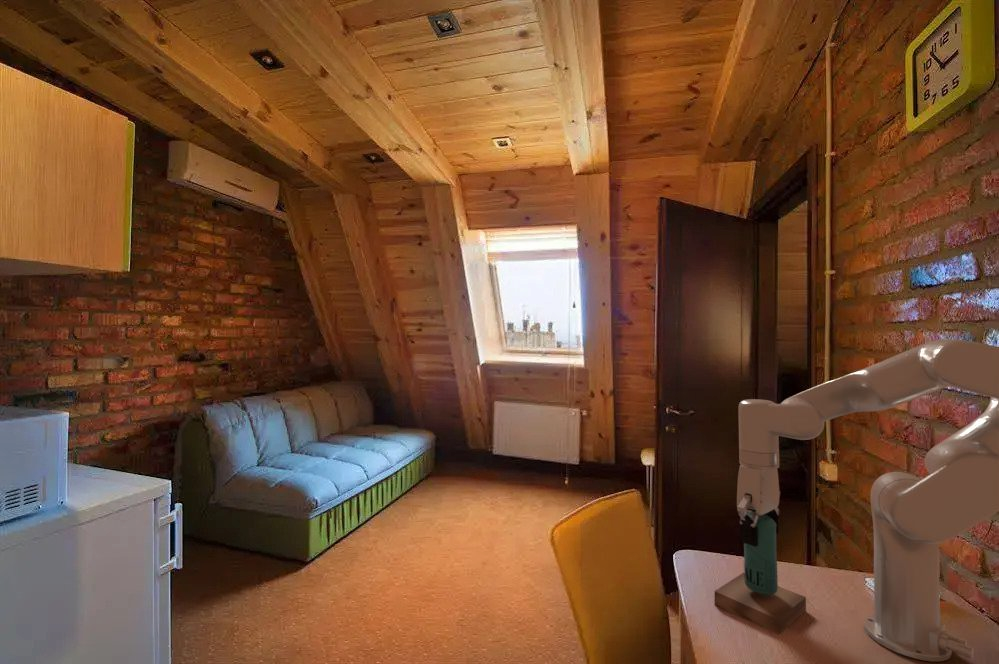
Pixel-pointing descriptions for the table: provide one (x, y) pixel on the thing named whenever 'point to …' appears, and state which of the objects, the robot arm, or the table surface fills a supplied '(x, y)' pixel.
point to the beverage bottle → (762, 558)
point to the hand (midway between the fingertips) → (760, 537)
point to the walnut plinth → (761, 605)
